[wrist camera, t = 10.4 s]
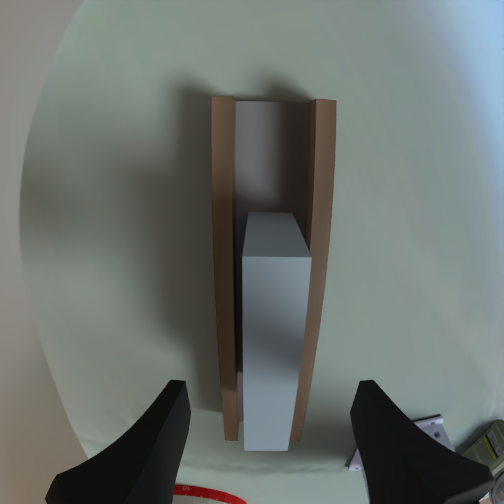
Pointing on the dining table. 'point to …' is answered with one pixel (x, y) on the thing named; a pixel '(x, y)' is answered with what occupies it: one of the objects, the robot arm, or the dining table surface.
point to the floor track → (268, 200)
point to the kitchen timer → (202, 496)
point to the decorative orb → (498, 488)
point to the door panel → (272, 326)
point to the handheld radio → (489, 448)
